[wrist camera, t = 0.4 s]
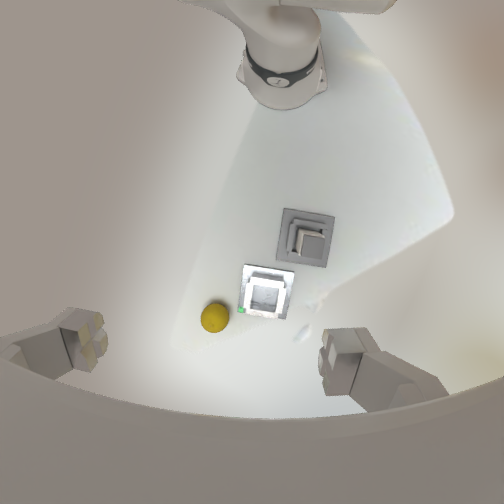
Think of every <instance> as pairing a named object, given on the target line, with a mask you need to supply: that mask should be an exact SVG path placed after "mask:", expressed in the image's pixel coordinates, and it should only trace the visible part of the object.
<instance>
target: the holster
mask: <svg viewBox="0 0 504 504" xmlns="http://www.w3.org/2000/svg"><path fill="white" fill-rule="evenodd" d="M334 220H335V217H330V216H325V215H319V214H313V213H307V212H302V211H296V210H289V209H284V212H283V218H282V225H281V231H280V238H279V244H278V250H277V256H276V260H280V261H286V262H293V263H299V264H305V265H312V266H318V267H324V268H326V265H327V260H328V254H329V249H330V244H331V238H332V232H333V226H334ZM298 228H302V229H308V230H314V231H317V232H319V233H320V234H322V235H323V236H325V245H324V250H323V256H322V260H320V259H314V258H308V257H302V256H300V255H298V252H297V250H296V247H295V243H296V237H297V231H298Z"/></svg>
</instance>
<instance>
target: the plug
mask: <svg viewBox="0 0 504 504" xmlns="http://www.w3.org/2000/svg"><path fill="white" fill-rule="evenodd" d="M324 245H325V236H323V235H322V234H320V233H319V232H317V231H314V230H308V229H302V228H298V231H297V237H296V243H295V247H296V250H297V252H298V255H300V256H302V257H308V258H314V259H320V260H322V256H323V250H324Z"/></svg>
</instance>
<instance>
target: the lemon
mask: <svg viewBox="0 0 504 504" xmlns="http://www.w3.org/2000/svg"><path fill="white" fill-rule="evenodd" d="M228 321H229V313H228V311H227V309H226V308H225V307H224V306H222V305H221V304H210V305H208V306H207V307H206V308H205V309H204V310H203V312H202V314H201V324H202V326H203V328H204V329H205V330H207V331H208V332H211V333H217V332H220V331H222V330H223V329H224V328H225V327H226V326H227V324H228Z"/></svg>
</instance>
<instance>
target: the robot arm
mask: <svg viewBox="0 0 504 504" xmlns="http://www.w3.org/2000/svg"><path fill="white" fill-rule="evenodd" d="M178 1H180V2H182V3H185V4H191V5H195V6H200V7H203V8H206V9H209V10H212V11H214V12H216V13H218V14H220V15H222V16H224V17H225V18H227V19H228V20H230V21H231V22H233V23H234V24H235V25H237V26H238V27H239V28H240V29H241V30H242V32H243V34H244V37H245V40H246V50H244V51H243V56H244V59H243V60H241V65H240V67H239V69H238V72H237V74H236V77H237V79H238V80H239V81H240V82H241V83H243V84H244V85H246V86H247V88H248V90H249V91H250V93H251V94H252V96H253V97H254V98H255V99H256V100H257V101H258V102H259V103H261V104H263V105H264V106H267V107H269V108H273V109H278V110H288V109H294V108H297V107H299V106H302V105H303V104H305V103H306V102H308V101H309V100H310V99H311V98H312V97H313V96H314V95H316V94H319V93H321V92H324V91H325V90H326V89H327V79H326V72H325V66H324V60H323V54H322V49H321V43H320V39H319V37H320V32H321V24H320V21H319V18H318V16H317V15H316V13H315V12H314V10H313V9H312V8H316V9H323V10H329V11H335V12H346V13H363V14H380V13H383V12H385V11H386V10H388V9H389V8H390V7H392V6H393V5H394V3H395V2H396V1H397V0H178ZM320 80H322V81H323V82H320ZM103 325H104V320H103V316H102V315H101V314H100V313H99V312H93V311H89V310H83V309H79V308H73V307H67V308H66V309H65V310H64V311H63V312H61V313H60V314H59V315H58V316H56V317H55V318H54V319H53V320H52V321H51V322H49V323H48V324H42V325H39V326H36V327H32V328H29V329H26V330H23V331H19V332H16V333H13V334H9V335H6V336H3V337H0V504H504V376H503V377H501V378H498V379H496V380H493V381H491V382H488V383H485V384H483V385H480V386H477V387H474V388H471V389H468V390H465V391H462V392H459V393H455V394H452V395H449V394H448V392H447V391H446V389H445V388H444V386H443V385H442V383H441V382H440V381H439V379H438V378H437V377H436V376H434V375H432V374H430V373H428V372H426V371H424V370H422V369H420V368H417V367H415V366H414V365H411V364H410V363H408V362H405V361H404V360H402V359H400V358H397V357H396V356H394V355H392V354H390V353H388V352H386V351H381V350H380V348H379V347H378V345H377V344H376V342H375V340H374V339H373V337H372V336H371V334H370V333H369V331H368V330H367V328H365V327H357V328H340V329H325V330H324V332H323V336H322V341H323V345H324V346H323V347H322V348H321V349H320V351H319V357H318V368H319V373H320V375H321V376H322V377H324V378H323V382H322V384H323V388H324V391H325V395H326V396H338V395H349V396H350V397H351V398H352V399H353V400H355V401H356V402H357V403H358V404H359V405H360V406H361V407H363V408H364V409H365V410H366V411H367V413H360V414H351V415H342V416H330V417H316V418H290V419H289V418H288V419H263V418H239V417H224V416H213V415H203V414H194V413H186V412H179V411H172V410H166V409H160V408H155V407H149V406H144V405H140V404H135V403H130V402H126V401H122V400H118V399H114V398H110V397H106V396H102V395H98V394H95V393H92V392H88V391H85V390H82V389H78V388H76V387H72V386H70V385H67V384H64V383H61V382H58V381H55V379H57V378H59V377H61V376H62V375H64V374H66V373H67V372H69V371H71V370H73V368H74V369H77V370H81V371H85V372H90V373H91V371H92V370H93V369H94V367H95V366H96V364H97V363H98V360H97V358H99V357H101V356H103V355H104V354H105V352H106V350H107V346H108V337H107V333H106V332H105V331H104V329H103V328H102V327H103Z"/></svg>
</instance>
